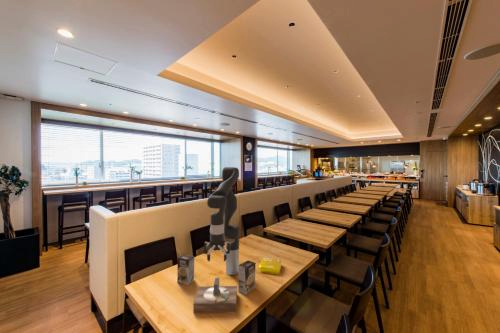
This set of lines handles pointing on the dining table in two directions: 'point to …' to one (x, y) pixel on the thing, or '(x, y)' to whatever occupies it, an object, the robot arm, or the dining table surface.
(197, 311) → the tuner box
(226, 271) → the robot arm
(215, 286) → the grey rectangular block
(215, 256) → the dining table surface
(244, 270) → the coffee box
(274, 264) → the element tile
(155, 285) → the dining table surface
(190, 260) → the coffee box
